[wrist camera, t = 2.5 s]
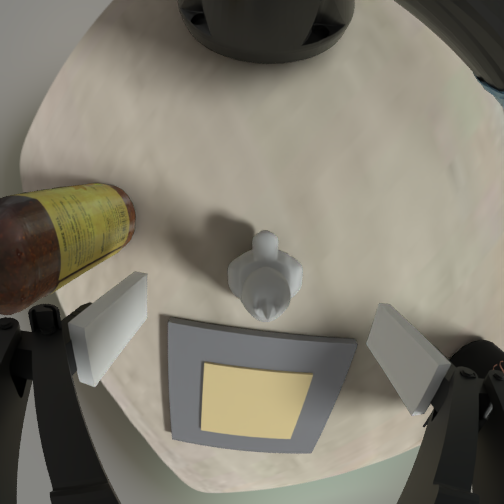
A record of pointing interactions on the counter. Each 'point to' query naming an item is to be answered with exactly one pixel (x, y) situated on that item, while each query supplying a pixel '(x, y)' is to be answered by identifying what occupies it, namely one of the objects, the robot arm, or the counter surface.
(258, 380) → the board
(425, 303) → the counter surface
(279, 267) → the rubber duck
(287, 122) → the counter surface
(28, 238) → the sauce bottle
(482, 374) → the coffee jar
